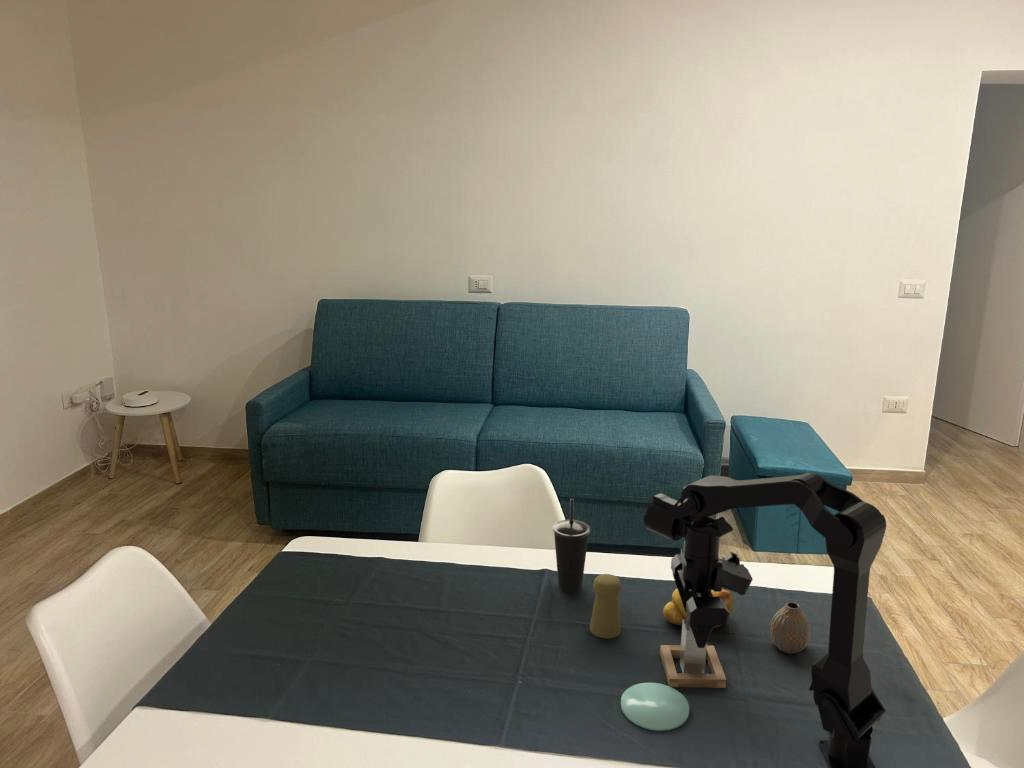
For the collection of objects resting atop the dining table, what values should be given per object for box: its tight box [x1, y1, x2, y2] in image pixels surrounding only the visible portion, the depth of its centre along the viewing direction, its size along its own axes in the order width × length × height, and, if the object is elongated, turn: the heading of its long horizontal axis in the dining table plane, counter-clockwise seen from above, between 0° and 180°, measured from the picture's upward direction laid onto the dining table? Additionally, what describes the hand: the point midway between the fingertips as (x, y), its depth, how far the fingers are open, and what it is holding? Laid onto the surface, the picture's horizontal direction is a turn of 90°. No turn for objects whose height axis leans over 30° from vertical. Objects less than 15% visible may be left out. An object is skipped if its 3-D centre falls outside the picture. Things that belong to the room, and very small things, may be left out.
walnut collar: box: [659, 644, 727, 689], centre depth 139 cm, size 10×10×2 cm
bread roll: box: [662, 588, 734, 629], centre depth 154 cm, size 13×10×8 cm
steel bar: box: [679, 619, 708, 674], centre depth 138 cm, size 4×4×9 cm
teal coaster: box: [620, 682, 690, 732], centre depth 130 cm, size 11×11×1 cm
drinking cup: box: [552, 498, 591, 594], centre depth 163 cm, size 8×8×20 cm
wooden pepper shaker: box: [589, 573, 622, 639], centre depth 150 cm, size 6×6×11 cm
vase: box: [769, 601, 811, 655], centre depth 145 cm, size 7×7×9 cm
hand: (695, 631), depth 137 cm, fingers open, 9 cm apart
